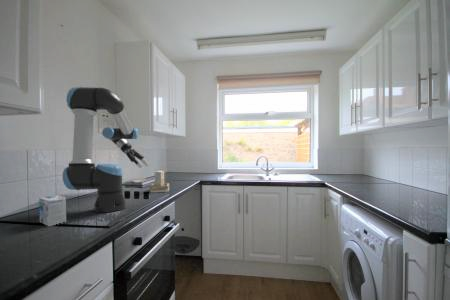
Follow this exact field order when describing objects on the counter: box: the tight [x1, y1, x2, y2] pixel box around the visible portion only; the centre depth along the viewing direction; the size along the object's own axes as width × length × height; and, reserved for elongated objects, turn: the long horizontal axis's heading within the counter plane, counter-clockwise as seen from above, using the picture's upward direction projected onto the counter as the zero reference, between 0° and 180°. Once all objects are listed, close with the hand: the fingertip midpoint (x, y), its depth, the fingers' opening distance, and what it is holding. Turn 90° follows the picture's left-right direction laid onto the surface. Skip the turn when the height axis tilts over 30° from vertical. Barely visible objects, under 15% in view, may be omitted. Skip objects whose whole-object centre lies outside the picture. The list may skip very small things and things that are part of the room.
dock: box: [149, 182, 170, 194], centre depth 170 cm, size 12×12×4 cm
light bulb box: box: [38, 194, 67, 227], centre depth 101 cm, size 11×7×11 cm, turn 55°
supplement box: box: [154, 170, 165, 186], centre depth 170 cm, size 8×5×13 cm, turn 179°
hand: (144, 166), depth 170 cm, fingers open, 13 cm apart
